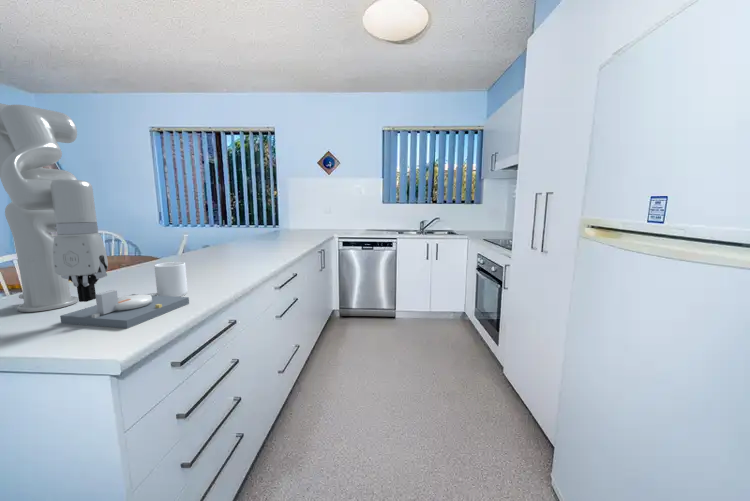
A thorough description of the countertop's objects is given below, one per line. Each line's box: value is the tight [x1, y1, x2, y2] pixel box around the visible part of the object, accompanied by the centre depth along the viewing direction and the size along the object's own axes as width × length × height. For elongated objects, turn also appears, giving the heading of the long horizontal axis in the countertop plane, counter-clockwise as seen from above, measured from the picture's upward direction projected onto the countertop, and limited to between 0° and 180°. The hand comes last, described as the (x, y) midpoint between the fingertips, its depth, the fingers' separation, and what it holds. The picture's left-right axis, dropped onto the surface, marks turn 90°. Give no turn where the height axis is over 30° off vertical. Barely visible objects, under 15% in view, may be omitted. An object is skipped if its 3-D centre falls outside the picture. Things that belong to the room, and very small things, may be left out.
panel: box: [59, 293, 190, 329], centre depth 87 cm, size 20×20×3 cm
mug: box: [153, 261, 188, 297], centre depth 105 cm, size 9×12×11 cm
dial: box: [95, 290, 152, 314], centre depth 85 cm, size 13×10×5 cm
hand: (87, 300), depth 80 cm, fingers closed
